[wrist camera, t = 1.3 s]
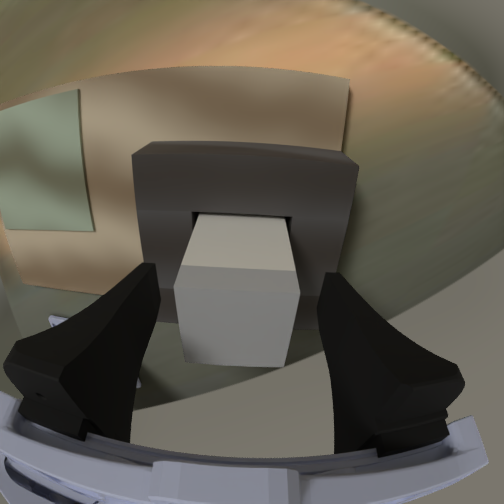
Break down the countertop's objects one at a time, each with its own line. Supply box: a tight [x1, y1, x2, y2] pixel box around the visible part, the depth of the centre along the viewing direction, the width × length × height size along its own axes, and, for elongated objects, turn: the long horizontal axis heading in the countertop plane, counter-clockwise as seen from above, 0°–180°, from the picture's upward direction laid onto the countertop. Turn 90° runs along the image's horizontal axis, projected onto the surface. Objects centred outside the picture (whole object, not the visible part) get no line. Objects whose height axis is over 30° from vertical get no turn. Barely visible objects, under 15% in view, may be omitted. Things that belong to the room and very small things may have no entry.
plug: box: [174, 212, 300, 367], centre depth 14 cm, size 4×4×8 cm
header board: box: [0, 66, 359, 330], centre depth 15 cm, size 15×24×4 cm, turn 87°
